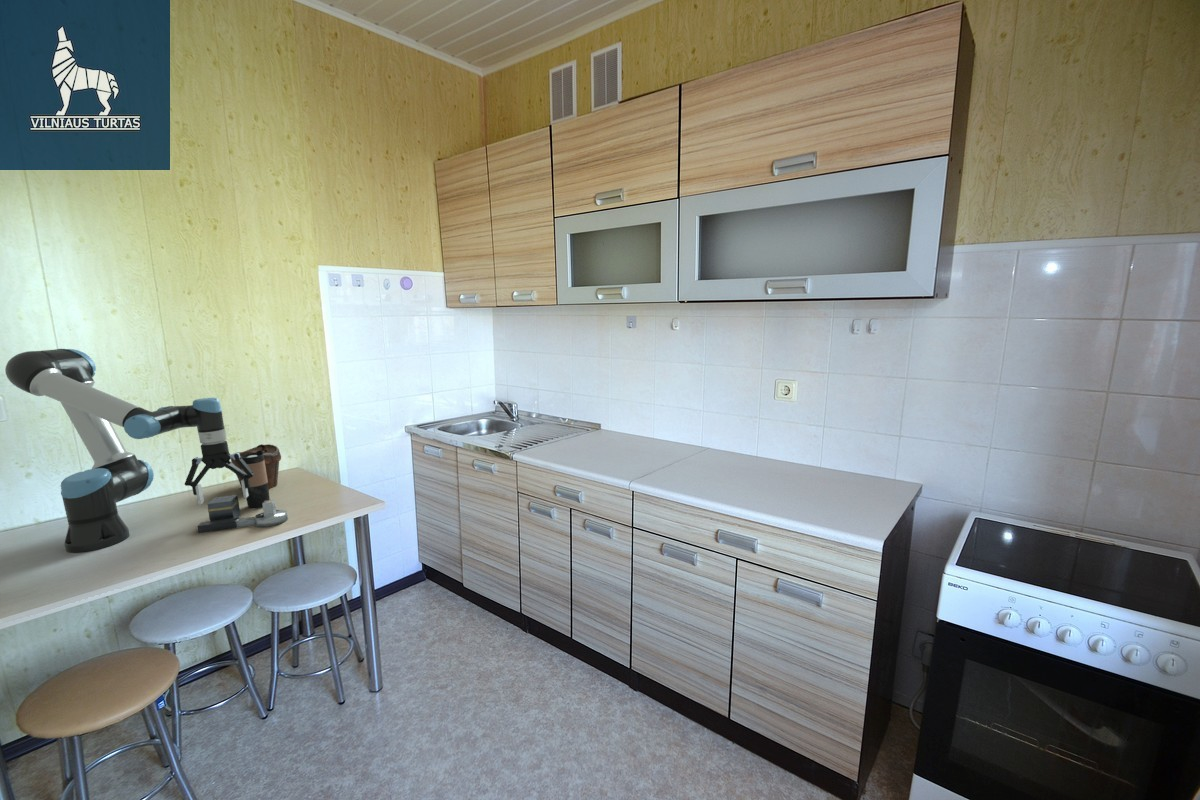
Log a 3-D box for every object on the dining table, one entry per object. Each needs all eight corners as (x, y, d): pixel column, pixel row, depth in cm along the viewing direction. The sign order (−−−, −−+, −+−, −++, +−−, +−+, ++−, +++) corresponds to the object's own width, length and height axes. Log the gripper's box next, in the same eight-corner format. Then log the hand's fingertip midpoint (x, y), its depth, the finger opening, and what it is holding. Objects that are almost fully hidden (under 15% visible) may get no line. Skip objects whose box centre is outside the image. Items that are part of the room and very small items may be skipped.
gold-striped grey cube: (210, 525, 179) (206, 504, 178) (217, 518, 186) (214, 497, 184) (234, 522, 182) (230, 501, 180) (240, 515, 188) (237, 494, 187)
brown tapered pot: (281, 476, 234) (275, 438, 230) (288, 487, 218) (282, 446, 215) (233, 486, 223) (226, 446, 219) (238, 498, 207) (230, 455, 204)
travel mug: (275, 501, 201) (268, 452, 198) (260, 509, 194) (253, 458, 191) (257, 501, 202) (250, 452, 199) (242, 508, 195) (234, 458, 191)
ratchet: (194, 537, 170) (190, 515, 169) (206, 525, 179) (202, 505, 178) (283, 524, 178) (281, 504, 177) (290, 514, 188) (288, 495, 186)
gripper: (165, 449, 171) (177, 509, 175) (251, 440, 179) (261, 497, 183) (175, 444, 178) (186, 502, 182) (258, 435, 186) (267, 491, 190)
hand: (224, 500), depth 182 cm, fingers open, 13 cm apart
